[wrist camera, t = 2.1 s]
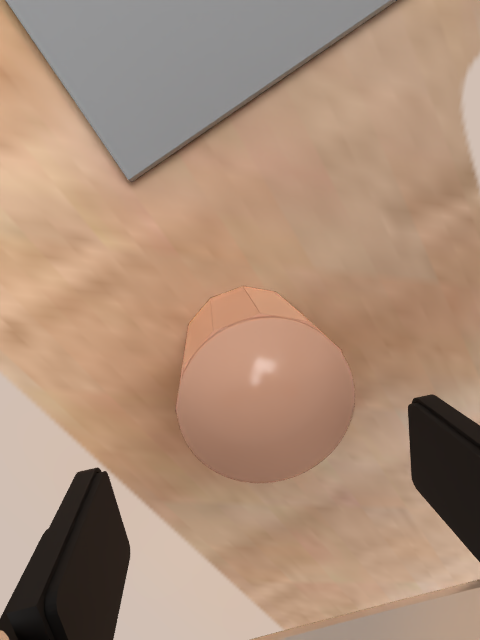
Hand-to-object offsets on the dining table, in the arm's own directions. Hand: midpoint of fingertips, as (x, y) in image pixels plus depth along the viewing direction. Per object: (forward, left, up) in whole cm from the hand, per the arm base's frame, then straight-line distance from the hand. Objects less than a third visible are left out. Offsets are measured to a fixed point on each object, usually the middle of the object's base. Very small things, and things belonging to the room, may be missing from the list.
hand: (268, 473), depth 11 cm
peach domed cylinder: (0, -1, -9) cm, 9 cm away
